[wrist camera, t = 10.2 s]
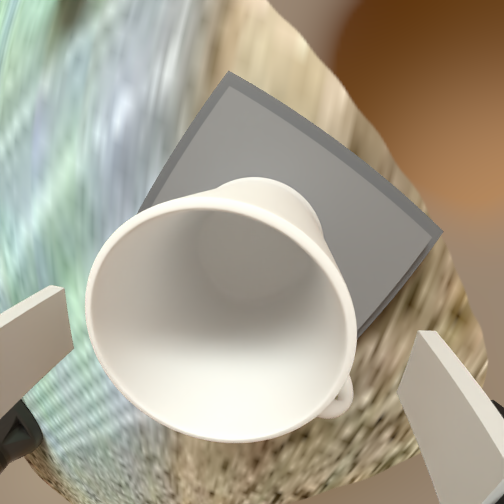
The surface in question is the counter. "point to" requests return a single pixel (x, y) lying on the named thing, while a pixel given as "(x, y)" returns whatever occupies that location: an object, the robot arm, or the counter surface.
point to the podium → (304, 187)
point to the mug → (225, 314)
